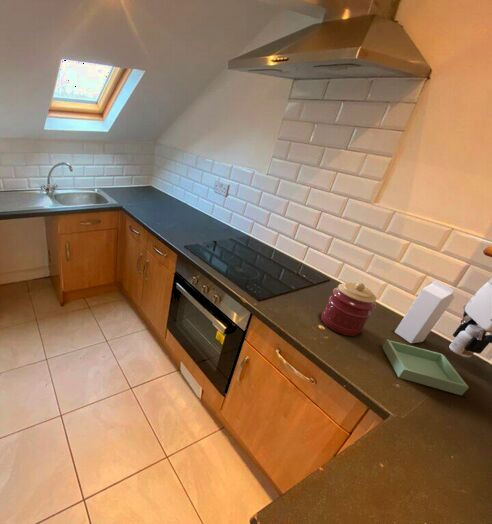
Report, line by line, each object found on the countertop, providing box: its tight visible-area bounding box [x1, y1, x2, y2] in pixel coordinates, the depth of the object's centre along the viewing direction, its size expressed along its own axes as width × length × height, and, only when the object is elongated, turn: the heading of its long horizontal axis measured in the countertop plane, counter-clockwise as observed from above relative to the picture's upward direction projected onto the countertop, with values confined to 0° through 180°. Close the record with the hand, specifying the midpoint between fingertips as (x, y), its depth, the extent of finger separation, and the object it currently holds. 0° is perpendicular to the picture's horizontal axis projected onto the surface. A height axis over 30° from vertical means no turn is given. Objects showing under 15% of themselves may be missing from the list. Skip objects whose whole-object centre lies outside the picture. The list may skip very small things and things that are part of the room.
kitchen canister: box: [320, 282, 377, 337], centre depth 104 cm, size 13×13×18 cm
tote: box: [381, 339, 470, 396], centre depth 91 cm, size 16×14×3 cm
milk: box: [394, 279, 455, 344], centre depth 101 cm, size 6×6×22 cm
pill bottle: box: [448, 325, 488, 358], centre depth 77 cm, size 4×4×8 cm
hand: (465, 343), depth 77 cm, fingers closed on pill bottle, 4 cm apart
